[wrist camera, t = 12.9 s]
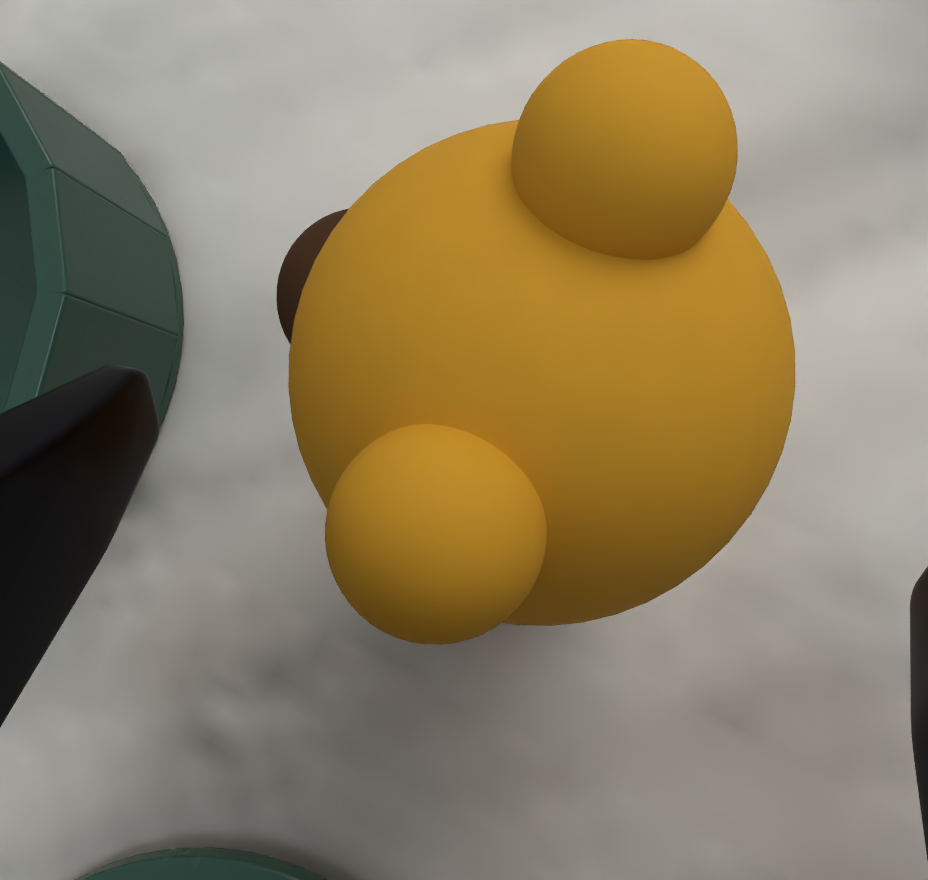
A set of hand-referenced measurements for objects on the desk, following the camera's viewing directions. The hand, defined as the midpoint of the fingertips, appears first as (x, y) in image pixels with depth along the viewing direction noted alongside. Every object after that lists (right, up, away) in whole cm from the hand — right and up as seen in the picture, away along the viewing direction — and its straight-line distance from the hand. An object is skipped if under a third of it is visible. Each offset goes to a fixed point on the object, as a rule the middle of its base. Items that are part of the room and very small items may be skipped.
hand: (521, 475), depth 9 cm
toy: (+1, 0, +9) cm, 9 cm away
